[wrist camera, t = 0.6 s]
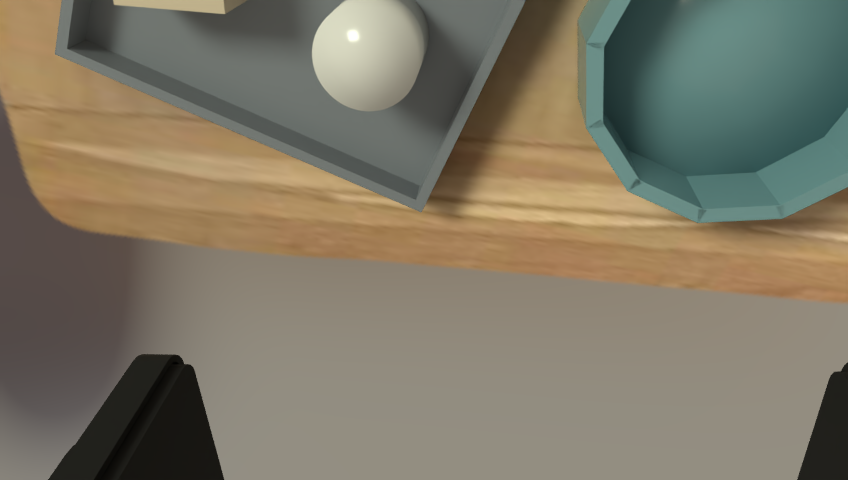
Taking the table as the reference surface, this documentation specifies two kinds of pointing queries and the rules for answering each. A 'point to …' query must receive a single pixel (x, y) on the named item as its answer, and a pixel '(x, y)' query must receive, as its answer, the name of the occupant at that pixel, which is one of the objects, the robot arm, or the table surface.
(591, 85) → the bowl
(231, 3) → the sand stone
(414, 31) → the pale stone
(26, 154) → the table surface
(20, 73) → the table surface
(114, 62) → the parts tray
